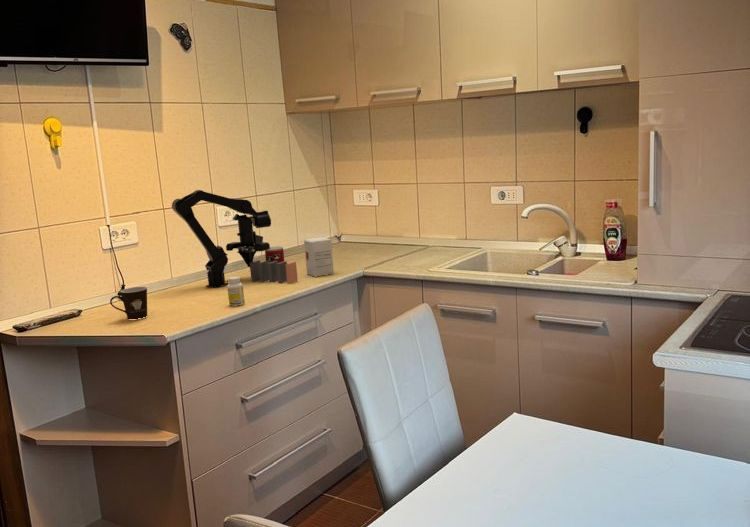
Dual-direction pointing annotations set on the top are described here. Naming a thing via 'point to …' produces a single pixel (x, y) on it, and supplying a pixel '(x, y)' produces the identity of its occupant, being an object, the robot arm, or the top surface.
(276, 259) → the canned food
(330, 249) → the supplement box
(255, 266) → the domino
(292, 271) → the domino
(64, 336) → the top surface
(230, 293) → the supplement bottle
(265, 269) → the domino
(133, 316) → the coffee mug
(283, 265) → the domino
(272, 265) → the domino
